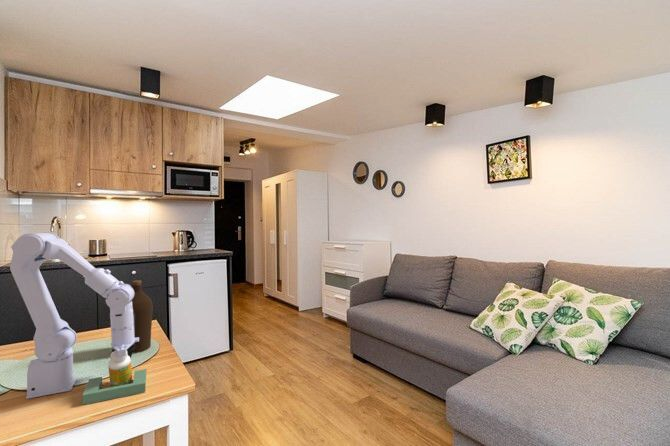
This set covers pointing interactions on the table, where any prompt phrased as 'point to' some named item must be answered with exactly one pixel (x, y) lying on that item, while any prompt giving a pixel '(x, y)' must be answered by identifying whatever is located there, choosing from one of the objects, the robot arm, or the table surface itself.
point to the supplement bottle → (119, 369)
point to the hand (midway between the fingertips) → (125, 371)
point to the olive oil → (141, 317)
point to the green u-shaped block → (113, 389)
